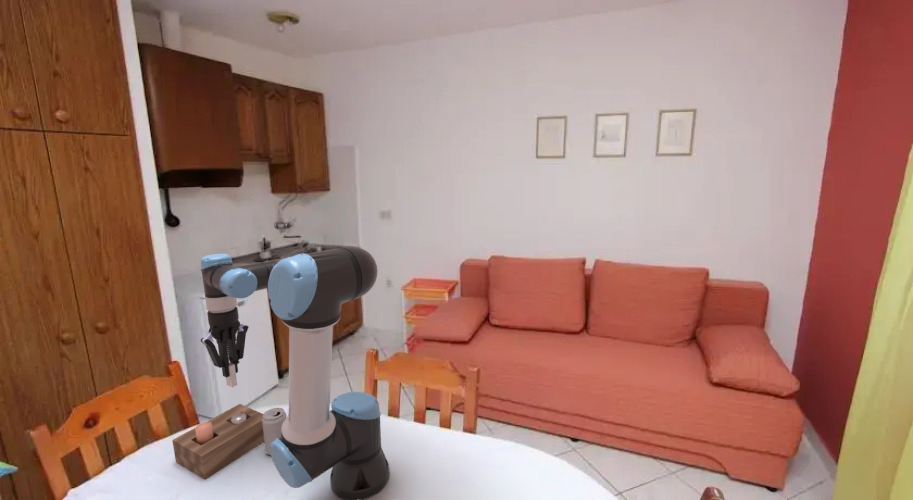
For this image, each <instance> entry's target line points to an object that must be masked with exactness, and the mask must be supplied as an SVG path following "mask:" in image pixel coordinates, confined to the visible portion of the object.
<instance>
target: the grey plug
mask: <svg viewBox="0 0 913 500" xmlns="http://www.w3.org/2000/svg"><path fill="white" fill-rule="evenodd" d="M245 420H246V414H245V413H238V414H236V415H234V416H232V418H231V422H232V424H234V425H238V424H239V423H241V422H243V421H245Z"/></svg>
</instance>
